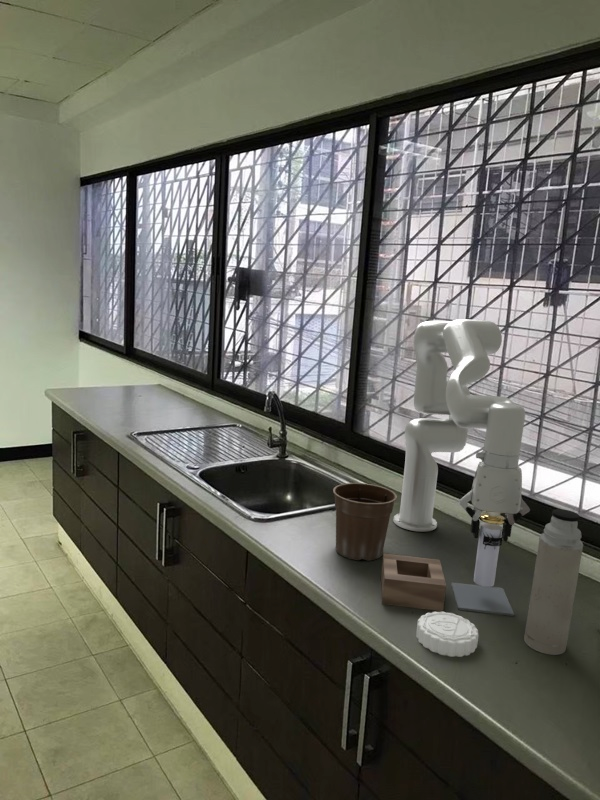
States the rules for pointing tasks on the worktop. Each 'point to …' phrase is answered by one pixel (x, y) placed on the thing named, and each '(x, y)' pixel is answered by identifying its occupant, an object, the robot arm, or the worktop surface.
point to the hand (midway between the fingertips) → (489, 536)
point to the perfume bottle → (488, 548)
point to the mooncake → (447, 634)
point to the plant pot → (362, 519)
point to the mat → (481, 599)
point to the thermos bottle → (554, 584)
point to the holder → (412, 582)
